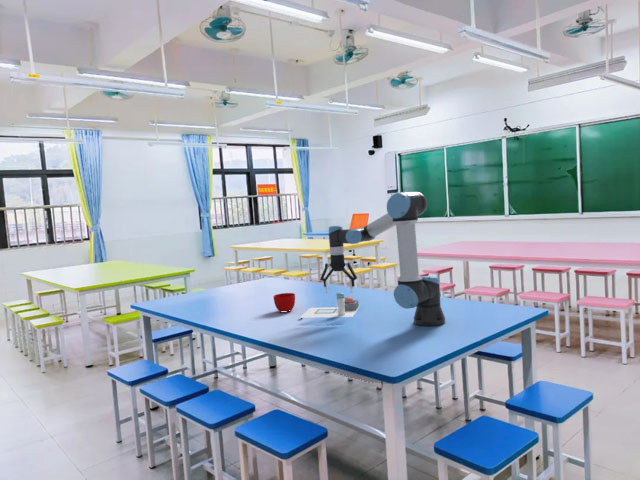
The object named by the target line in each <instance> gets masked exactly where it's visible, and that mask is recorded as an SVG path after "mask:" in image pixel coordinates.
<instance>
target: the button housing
mask: <svg viewBox="0 0 640 480" xmlns="http://www.w3.org/2000/svg"><path fill="white" fill-rule="evenodd" d="M353 301H354V303H345V300H344V303H345V311H356V310H357V309H358V307H359V308H360V305H359V299H357V300H356V299H353ZM358 310H359V309H358ZM358 310H357V311H358ZM357 311H356V312H357Z"/></svg>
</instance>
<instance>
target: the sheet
mask: <svg viewBox="0 0 640 480" xmlns="http://www.w3.org/2000/svg"><path fill="white" fill-rule="evenodd" d="M359 309H360V306H359V307H358V309H357V310H356V311H345V315H343V316H339V315H338V308H337V306H335V307H332V306H331V307H310V308H308V309H307V310H306V311H305V312H304V313H303V314H302V315H300V316H299V317H298V319H299V318H304V319H310V318H311V319H312V318H313V319H315V318H319V319H321V318H323V319H324V318H354V316H355V314H356V313H357V311H358V310H359Z"/></svg>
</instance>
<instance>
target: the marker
mask: <svg viewBox="0 0 640 480" xmlns="http://www.w3.org/2000/svg"><path fill="white" fill-rule="evenodd" d="M335 295H336V296H335V297H336V307H337V308H338V315H339V316H343V315H345V303H344V301H345V292H336V294H335Z"/></svg>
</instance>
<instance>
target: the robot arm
mask: <svg viewBox="0 0 640 480" xmlns="http://www.w3.org/2000/svg"><path fill="white" fill-rule="evenodd" d="M427 208H428V201H427V198H426V196H425V195H424V194H423V193H422V192H419V191H400V192H395V193H394V194H392V195H391V196H390V197H389V198H388V200H387V202H386V211H387V213H386V214H383V215H382V216H381V217H379V218H377V219H375V220H373V221H372V222H370V223H368V224H366V225H364V226H363V227H358V228H351V229H347V228H346V229H343V226H342V225H331V226H329V227H328V241H329V242H328V243H329V254H330V257H329V258H330V262H326V263H325V264H324V269H323V271H322V274H321V276H320V279H319V280H320V281H322V282H323V287H324V288H325V293H326V294H329V293H330V292H329V280H328V278H329V277H330V276H331V275H332V274H333V272H343V273H344V275H346V276H347V278H348V279H349V280H350V281H349V286H350V294H352V293H353V292H354V290H353V289H354V288H353V287H355V281H356V280H358V276H357V274H356V273H355V270H354V269H353V267H352V265H351V262H346V261H345V255H344V253H345V251H344V249H345V247H344V244H347V245H348V244H350V245H357V244H359V243H362V242H370V241H372V240H375V238H376V237H377V236H379V235H380V234H382V233H384V232H386V231H388V230H390V229H392V228H394V227H395V226H396V227H395V228H396V239H397V240H396V241H397V249H398V252H397V253H398V262H399V274H400V275H399V277H398V278H397V285H396V287H395V288H394V290H393V297H394V301H395V302H396V304H398V306H399V307H401V308H403V309H408V310H409V309H414V308H415V312H414V315H413V324H415V325H417V326H421V327H435V326H436V327H437V326H441V325H444V324H445V323H446V317H445V314H444V311H443V308H442V306H441V291H440V290H441V288H440V285H441V283H440V279H439V277H437V276H433V275H432V276H431V275H420V273H419V272H420V270H419V259H418V248H417V246H418V245H417V233H416V223H417V222H418V221H419V219H418V216H420V215H423V214H424V213H425V212H426V210H427ZM329 267H330V268H331V269H330V270H329V272H327V271H328V269H329ZM345 267H347V268H348V270H349V271H348V270H347V269H346V268H345ZM349 272H350V273H349ZM326 274H327V275H326Z"/></svg>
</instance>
